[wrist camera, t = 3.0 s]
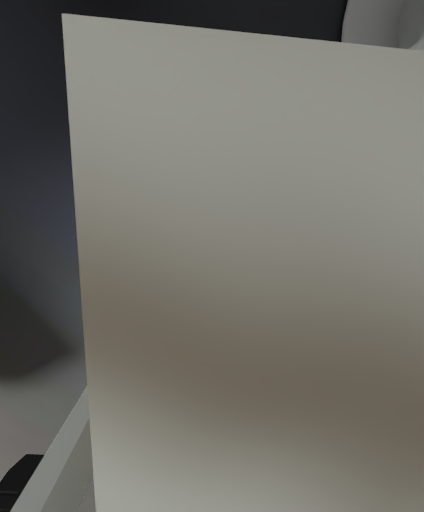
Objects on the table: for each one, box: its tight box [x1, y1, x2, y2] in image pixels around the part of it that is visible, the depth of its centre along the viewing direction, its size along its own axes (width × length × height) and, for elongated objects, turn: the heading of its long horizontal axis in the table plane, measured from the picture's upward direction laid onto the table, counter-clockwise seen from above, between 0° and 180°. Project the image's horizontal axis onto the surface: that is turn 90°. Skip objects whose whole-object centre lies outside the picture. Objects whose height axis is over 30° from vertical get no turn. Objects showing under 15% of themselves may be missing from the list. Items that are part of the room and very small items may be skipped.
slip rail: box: [62, 13, 424, 512], centre depth 11 cm, size 25×10×11 cm, turn 176°
